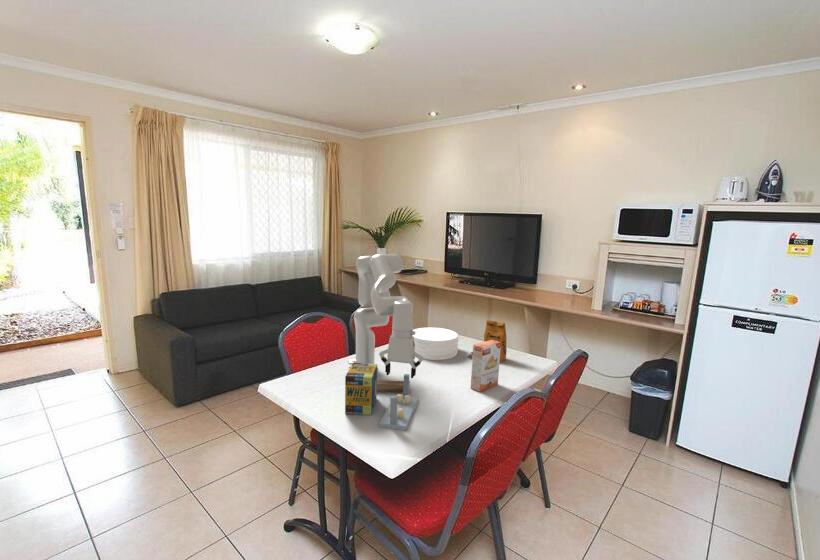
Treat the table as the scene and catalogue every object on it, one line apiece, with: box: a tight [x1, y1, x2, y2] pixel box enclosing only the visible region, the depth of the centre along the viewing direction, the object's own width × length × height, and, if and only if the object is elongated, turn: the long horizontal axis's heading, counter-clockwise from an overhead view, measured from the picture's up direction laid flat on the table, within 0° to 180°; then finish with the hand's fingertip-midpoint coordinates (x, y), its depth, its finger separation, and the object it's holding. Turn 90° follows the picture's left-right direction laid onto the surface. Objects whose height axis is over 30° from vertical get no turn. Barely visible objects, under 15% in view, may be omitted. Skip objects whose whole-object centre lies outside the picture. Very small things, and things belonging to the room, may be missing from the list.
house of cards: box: [466, 351, 473, 360], centre depth 216 cm, size 9×9×8 cm
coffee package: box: [483, 319, 508, 363], centre depth 214 cm, size 10×12×22 cm
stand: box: [378, 373, 419, 431], centre depth 150 cm, size 10×24×12 cm, turn 168°
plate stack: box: [412, 327, 459, 361], centre depth 224 cm, size 28×28×12 cm
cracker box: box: [470, 340, 501, 393], centre depth 177 cm, size 14×6×21 cm, turn 133°
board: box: [377, 379, 411, 394], centre depth 171 cm, size 4×16×4 cm, turn 88°
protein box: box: [344, 363, 378, 416], centre depth 155 cm, size 10×15×16 cm
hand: (400, 375), depth 149 cm, fingers open, 9 cm apart
